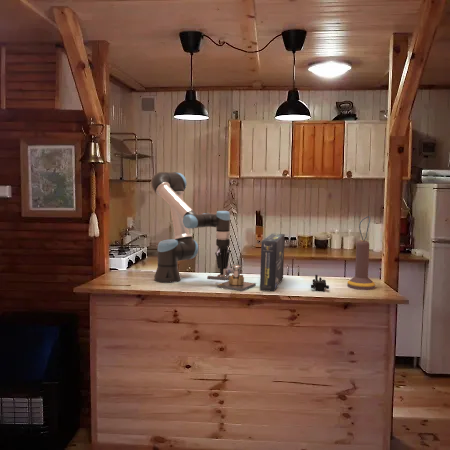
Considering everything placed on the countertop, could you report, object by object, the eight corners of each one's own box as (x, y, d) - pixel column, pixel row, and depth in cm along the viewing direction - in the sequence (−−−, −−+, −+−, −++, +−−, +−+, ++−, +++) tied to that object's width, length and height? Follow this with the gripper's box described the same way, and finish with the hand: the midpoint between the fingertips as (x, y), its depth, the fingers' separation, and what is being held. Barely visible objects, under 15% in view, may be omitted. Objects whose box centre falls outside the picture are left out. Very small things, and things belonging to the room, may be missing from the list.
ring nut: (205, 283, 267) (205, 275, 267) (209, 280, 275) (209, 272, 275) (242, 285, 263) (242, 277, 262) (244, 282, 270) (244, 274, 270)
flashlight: (350, 216, 264) (350, 215, 278) (347, 288, 267) (347, 283, 282) (379, 217, 260) (377, 215, 274) (375, 290, 264) (374, 285, 278)
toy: (310, 282, 290) (310, 291, 260) (310, 274, 290) (311, 282, 260) (326, 282, 288) (328, 292, 259) (326, 274, 288) (329, 283, 258)
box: (275, 292, 257) (277, 240, 254) (259, 290, 259) (260, 240, 256) (284, 279, 291) (285, 233, 288) (269, 278, 293) (270, 233, 290)
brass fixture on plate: (216, 287, 265) (216, 266, 264) (231, 282, 279) (231, 262, 277) (241, 291, 257) (242, 269, 256) (255, 286, 270) (256, 265, 269)
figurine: (232, 279, 301) (228, 281, 286) (219, 276, 303) (214, 277, 288) (237, 262, 301) (233, 262, 287) (223, 258, 303) (219, 258, 288)
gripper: (222, 240, 261) (222, 283, 264) (234, 237, 272) (234, 278, 275) (211, 239, 265) (211, 281, 268) (223, 236, 276) (222, 277, 279)
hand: (222, 280), depth 271 cm, fingers closed
